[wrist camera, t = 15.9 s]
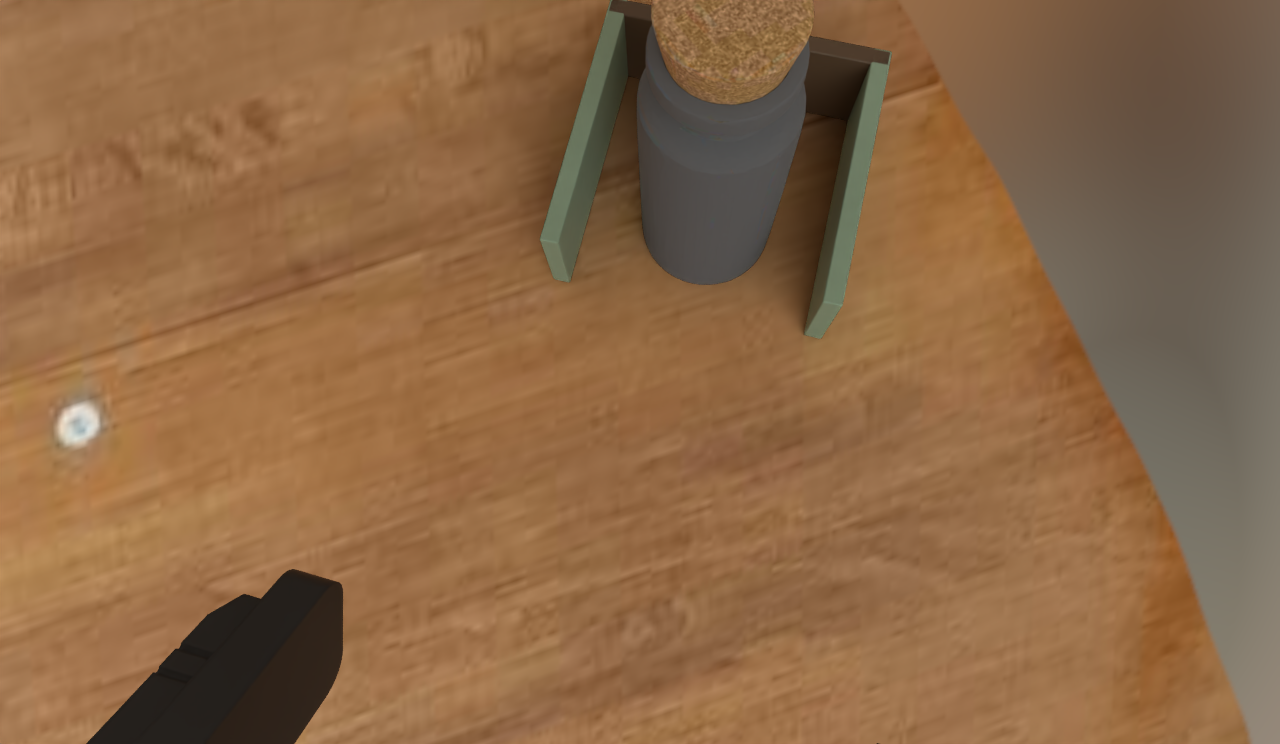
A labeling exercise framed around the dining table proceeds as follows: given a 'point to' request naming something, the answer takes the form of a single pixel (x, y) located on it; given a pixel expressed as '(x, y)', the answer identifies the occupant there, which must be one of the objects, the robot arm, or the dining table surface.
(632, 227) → the dining table surface
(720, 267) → the bottle
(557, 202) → the green u-shaped frame
